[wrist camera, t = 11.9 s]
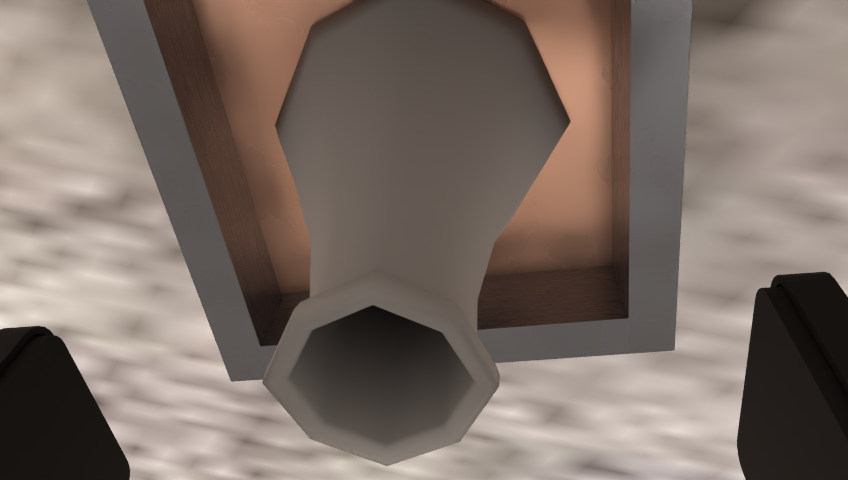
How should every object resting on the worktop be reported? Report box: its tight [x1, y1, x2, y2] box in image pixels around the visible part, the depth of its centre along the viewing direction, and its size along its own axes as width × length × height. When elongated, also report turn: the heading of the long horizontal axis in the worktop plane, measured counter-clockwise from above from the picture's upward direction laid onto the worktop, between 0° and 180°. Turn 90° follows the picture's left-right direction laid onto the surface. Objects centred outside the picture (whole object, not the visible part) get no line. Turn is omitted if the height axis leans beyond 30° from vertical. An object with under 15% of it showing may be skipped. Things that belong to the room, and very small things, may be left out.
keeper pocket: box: [87, 0, 692, 381], centre depth 18 cm, size 12×12×3 cm
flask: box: [263, 0, 571, 466], centre depth 14 cm, size 7×7×10 cm
